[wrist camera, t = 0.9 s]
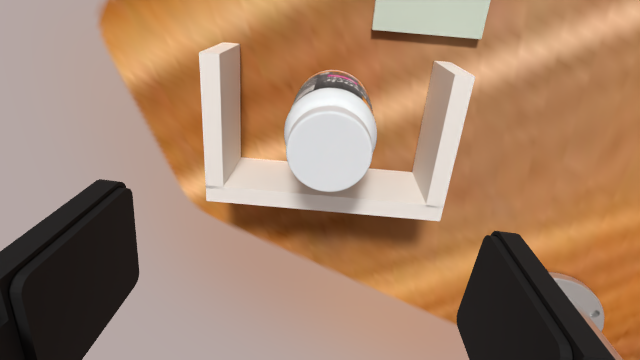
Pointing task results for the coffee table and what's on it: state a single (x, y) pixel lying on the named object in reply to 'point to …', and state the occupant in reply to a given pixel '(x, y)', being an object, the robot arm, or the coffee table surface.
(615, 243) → the coffee table surface
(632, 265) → the coffee table surface
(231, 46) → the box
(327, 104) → the pill bottle
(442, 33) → the tile
